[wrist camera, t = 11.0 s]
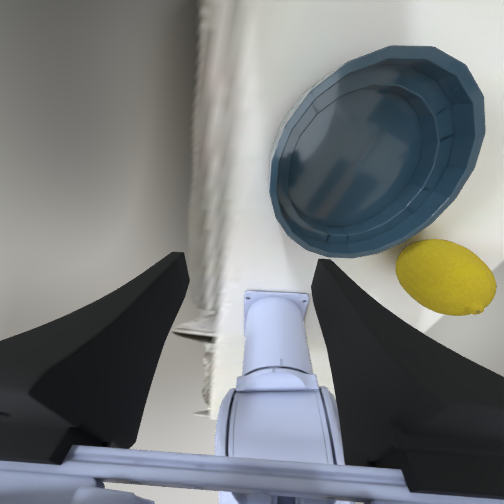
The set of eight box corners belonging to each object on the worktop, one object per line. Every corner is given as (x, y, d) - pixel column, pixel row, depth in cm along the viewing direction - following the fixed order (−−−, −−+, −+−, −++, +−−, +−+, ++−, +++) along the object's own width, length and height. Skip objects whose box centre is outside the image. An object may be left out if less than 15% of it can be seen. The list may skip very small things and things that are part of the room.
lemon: (431, 213, 18) (525, 268, 12) (448, 251, 20) (535, 316, 14) (371, 245, 21) (422, 307, 14) (392, 277, 23) (444, 343, 16)
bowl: (394, 239, 20) (417, 261, 17) (264, 234, 20) (264, 254, 17) (482, 63, 13) (549, 48, 10) (276, 59, 13) (280, 42, 10)
